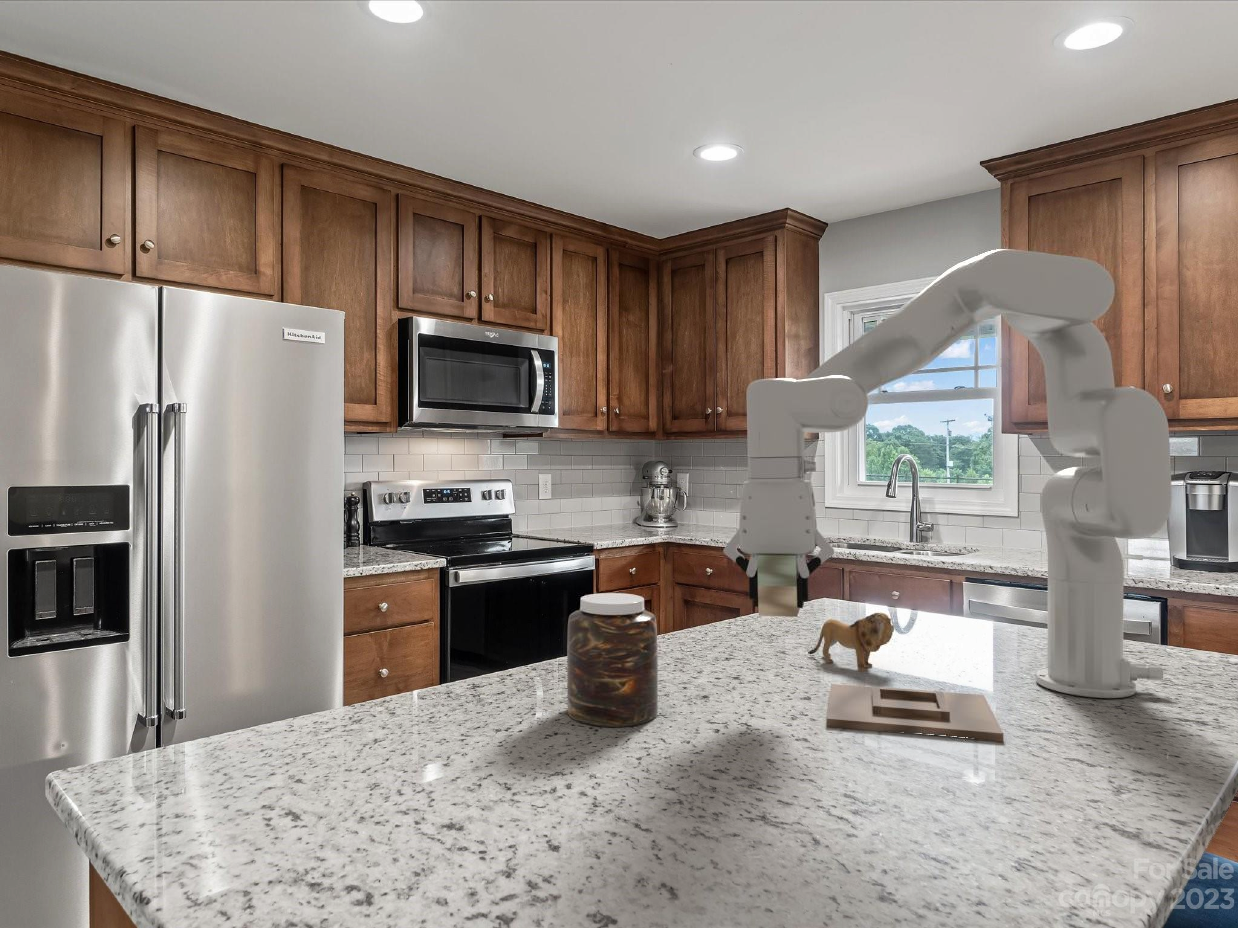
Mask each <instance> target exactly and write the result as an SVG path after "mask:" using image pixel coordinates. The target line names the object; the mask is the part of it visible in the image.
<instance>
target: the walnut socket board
mask: <svg viewBox="0 0 1238 928" xmlns="http://www.w3.org/2000/svg"><path fill="white" fill-rule="evenodd" d="M829 689H830V690H829V697H828V705H827V714H826V727H827V728H828V727H829V728H836V729H837V728H840V729H848V730H849V729H850V730H860V731H874V732H883V731H888V732H887V733H894V732H904V733H903V734H906V733H922V734H934V735H946V736H957V737H965V738H966V737H968V738H974V739H973V740H975V739H983V740H982V741H986V740H994V741H993V742H999V743H1004V732H1003V730H1002V728H1001V726H1000V724H999V722H998V720H997V717H995V714H994V713H993V711H992V708H991V706H990V704H989V703H988V701H987V699H986V697H985V695H984V694H974V693H960V692H948V691H940V690H939V691H938V690H924V689H911V688H900V687H899V688H897V687H886V686H866V685H865V686H864V685H851V684H838V683H830V688H829Z"/></svg>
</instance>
